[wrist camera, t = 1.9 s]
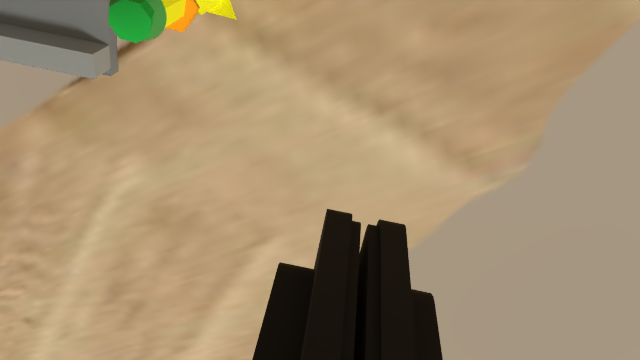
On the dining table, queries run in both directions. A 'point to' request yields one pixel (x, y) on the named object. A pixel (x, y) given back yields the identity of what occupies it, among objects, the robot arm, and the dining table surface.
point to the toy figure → (159, 16)
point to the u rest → (59, 36)
